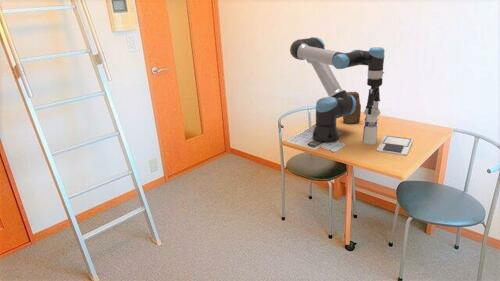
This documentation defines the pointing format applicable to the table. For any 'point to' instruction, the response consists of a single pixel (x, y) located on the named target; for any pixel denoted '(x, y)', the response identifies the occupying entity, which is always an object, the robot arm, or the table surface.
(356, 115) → the block
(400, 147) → the stamp station
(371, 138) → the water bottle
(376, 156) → the table surface
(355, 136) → the table surface
